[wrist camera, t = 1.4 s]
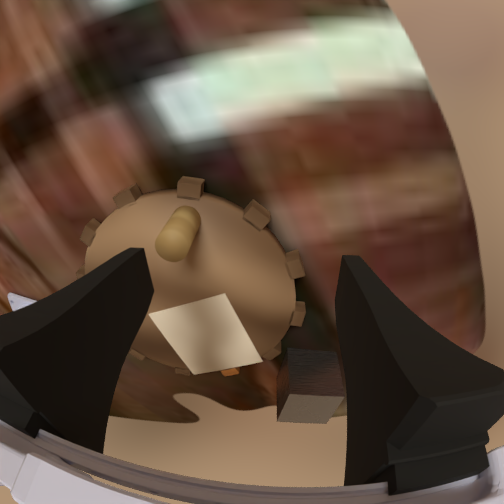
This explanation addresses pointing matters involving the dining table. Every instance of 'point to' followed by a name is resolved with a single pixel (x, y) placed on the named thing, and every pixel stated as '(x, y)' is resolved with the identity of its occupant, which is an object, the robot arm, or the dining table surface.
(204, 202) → the sprocket
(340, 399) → the link block
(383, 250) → the dining table surface
